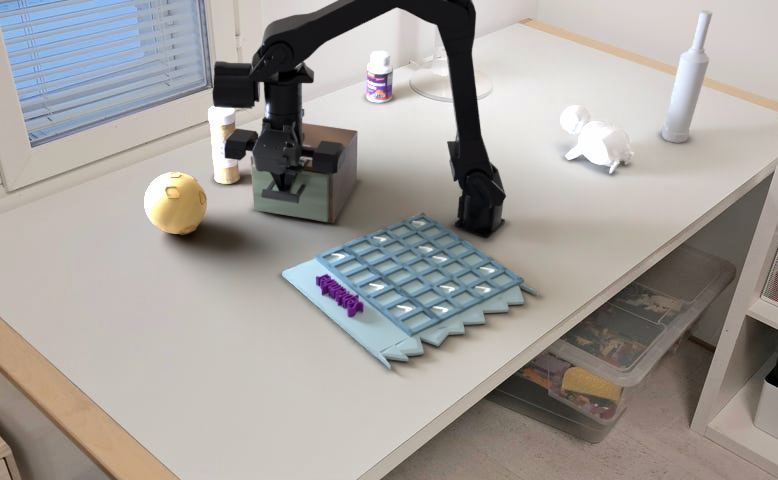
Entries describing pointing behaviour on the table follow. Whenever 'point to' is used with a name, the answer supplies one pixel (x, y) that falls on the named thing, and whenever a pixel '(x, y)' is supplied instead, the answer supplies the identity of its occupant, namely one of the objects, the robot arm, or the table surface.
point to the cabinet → (347, 173)
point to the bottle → (687, 85)
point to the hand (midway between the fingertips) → (285, 198)
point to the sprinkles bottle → (220, 130)
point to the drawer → (293, 195)
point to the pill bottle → (379, 77)
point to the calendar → (407, 287)
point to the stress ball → (175, 203)
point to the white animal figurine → (596, 138)
